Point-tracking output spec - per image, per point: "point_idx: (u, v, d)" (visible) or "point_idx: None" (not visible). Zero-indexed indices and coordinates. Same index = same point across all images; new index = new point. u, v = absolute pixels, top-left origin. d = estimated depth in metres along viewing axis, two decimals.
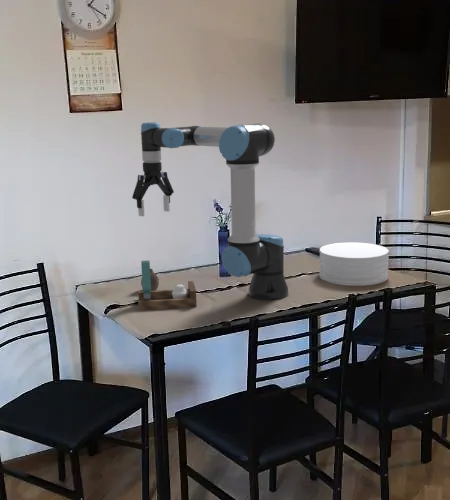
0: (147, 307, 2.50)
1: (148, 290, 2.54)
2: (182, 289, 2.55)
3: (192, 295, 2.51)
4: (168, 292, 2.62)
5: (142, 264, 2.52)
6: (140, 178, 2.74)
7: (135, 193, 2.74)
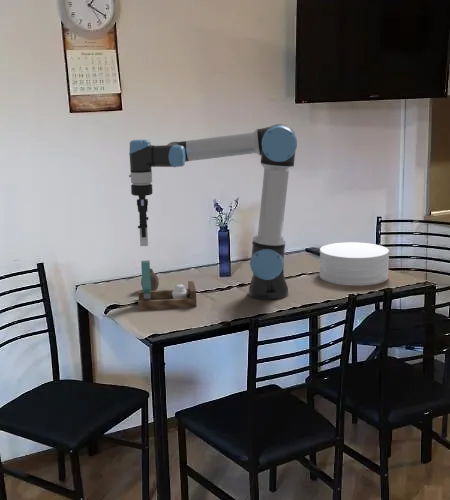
0: (147, 307, 2.50)
1: (148, 290, 2.54)
2: (182, 289, 2.55)
3: (192, 295, 2.51)
4: (168, 292, 2.62)
5: (142, 264, 2.52)
6: (144, 203, 2.41)
7: (143, 221, 2.40)
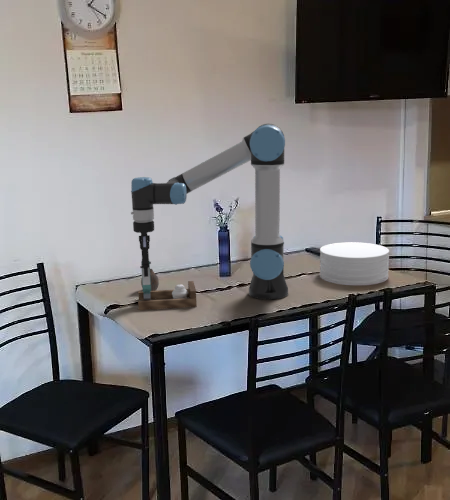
0: (147, 307, 2.50)
1: (148, 290, 2.54)
2: (182, 289, 2.55)
3: (192, 295, 2.51)
4: (168, 292, 2.62)
5: None
6: (146, 245, 2.45)
7: (145, 262, 2.48)
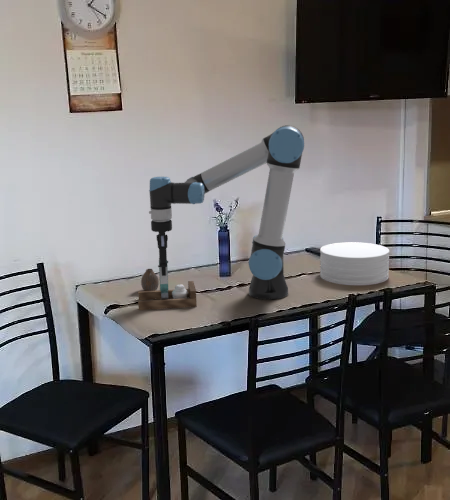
0: (147, 307, 2.50)
1: (165, 289, 2.55)
2: (182, 289, 2.55)
3: (192, 295, 2.51)
4: (168, 292, 2.62)
5: None
6: (164, 245, 2.46)
7: (163, 261, 2.48)
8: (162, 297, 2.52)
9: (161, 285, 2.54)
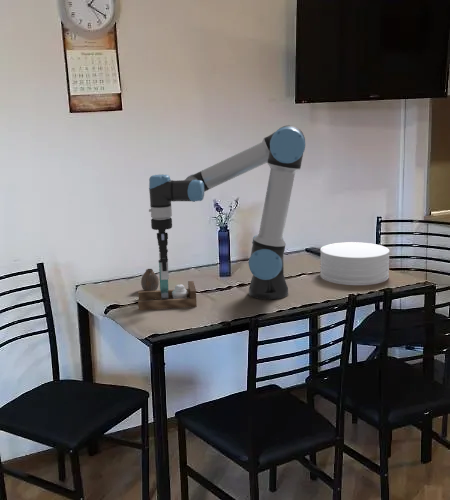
0: (147, 307, 2.50)
1: (166, 289, 2.55)
2: (182, 289, 2.55)
3: (192, 295, 2.51)
4: (168, 292, 2.62)
5: None
6: (164, 238, 2.45)
7: (164, 255, 2.44)
8: (162, 297, 2.52)
9: (161, 285, 2.54)
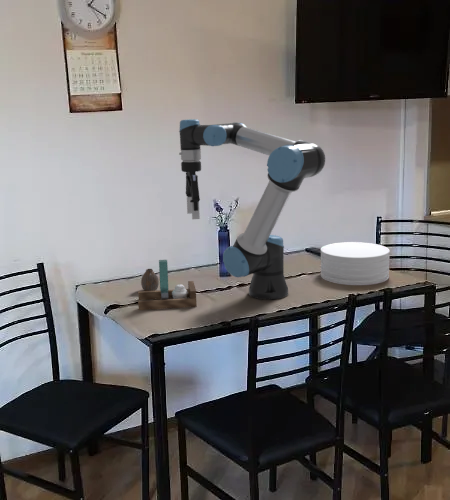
0: (147, 307, 2.50)
1: (166, 289, 2.55)
2: (182, 289, 2.55)
3: (192, 295, 2.51)
4: (168, 292, 2.62)
5: (160, 263, 2.52)
6: (195, 178, 2.57)
7: (196, 195, 2.56)
8: (162, 297, 2.52)
9: (161, 285, 2.54)
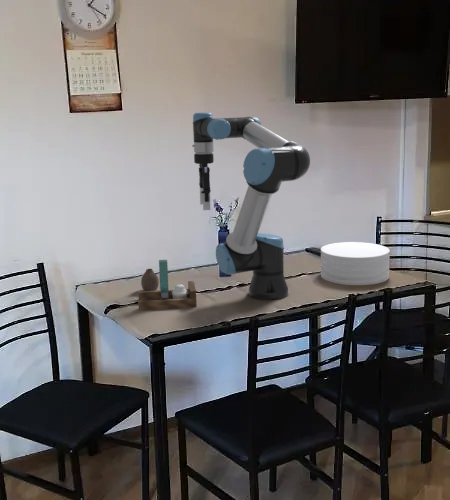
0: (147, 307, 2.50)
1: (166, 289, 2.55)
2: (182, 289, 2.55)
3: (192, 295, 2.51)
4: (168, 292, 2.62)
5: (160, 263, 2.52)
6: (207, 170, 2.64)
7: (207, 186, 2.62)
8: (162, 297, 2.52)
9: (161, 285, 2.54)
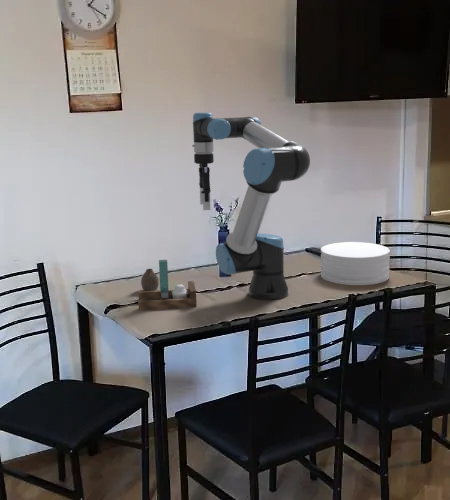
0: (147, 307, 2.50)
1: (166, 289, 2.55)
2: (182, 289, 2.55)
3: (192, 295, 2.51)
4: (168, 292, 2.62)
5: (160, 263, 2.52)
6: (207, 170, 2.64)
7: (207, 186, 2.62)
8: (162, 297, 2.52)
9: (161, 285, 2.54)
